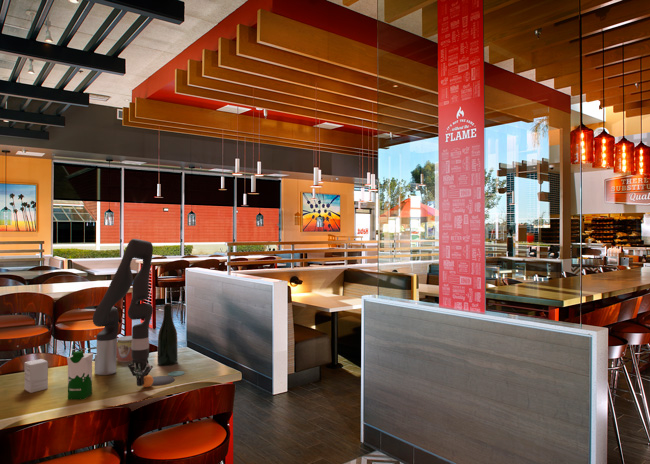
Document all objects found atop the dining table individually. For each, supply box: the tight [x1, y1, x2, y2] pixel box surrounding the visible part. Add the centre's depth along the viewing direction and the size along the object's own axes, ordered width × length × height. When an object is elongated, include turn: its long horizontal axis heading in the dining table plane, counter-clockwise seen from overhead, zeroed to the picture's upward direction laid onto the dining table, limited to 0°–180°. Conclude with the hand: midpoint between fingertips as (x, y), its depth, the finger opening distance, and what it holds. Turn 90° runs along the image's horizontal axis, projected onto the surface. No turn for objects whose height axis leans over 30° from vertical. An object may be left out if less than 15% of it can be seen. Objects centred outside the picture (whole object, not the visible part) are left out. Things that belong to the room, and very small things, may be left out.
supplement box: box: [24, 358, 49, 394], centre depth 207 cm, size 7×7×13 cm
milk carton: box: [66, 350, 94, 400], centre depth 197 cm, size 9×9×20 cm
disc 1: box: [150, 375, 176, 387], centre depth 219 cm, size 14×14×1 cm
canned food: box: [117, 335, 133, 363], centre depth 256 cm, size 11×11×12 cm
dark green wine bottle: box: [157, 302, 179, 366], centre depth 248 cm, size 10×10×33 cm
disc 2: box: [167, 370, 185, 377], centre depth 230 cm, size 8×8×1 cm
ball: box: [141, 374, 154, 388], centre depth 210 cm, size 6×6×6 cm
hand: (140, 385), depth 207 cm, fingers closed
